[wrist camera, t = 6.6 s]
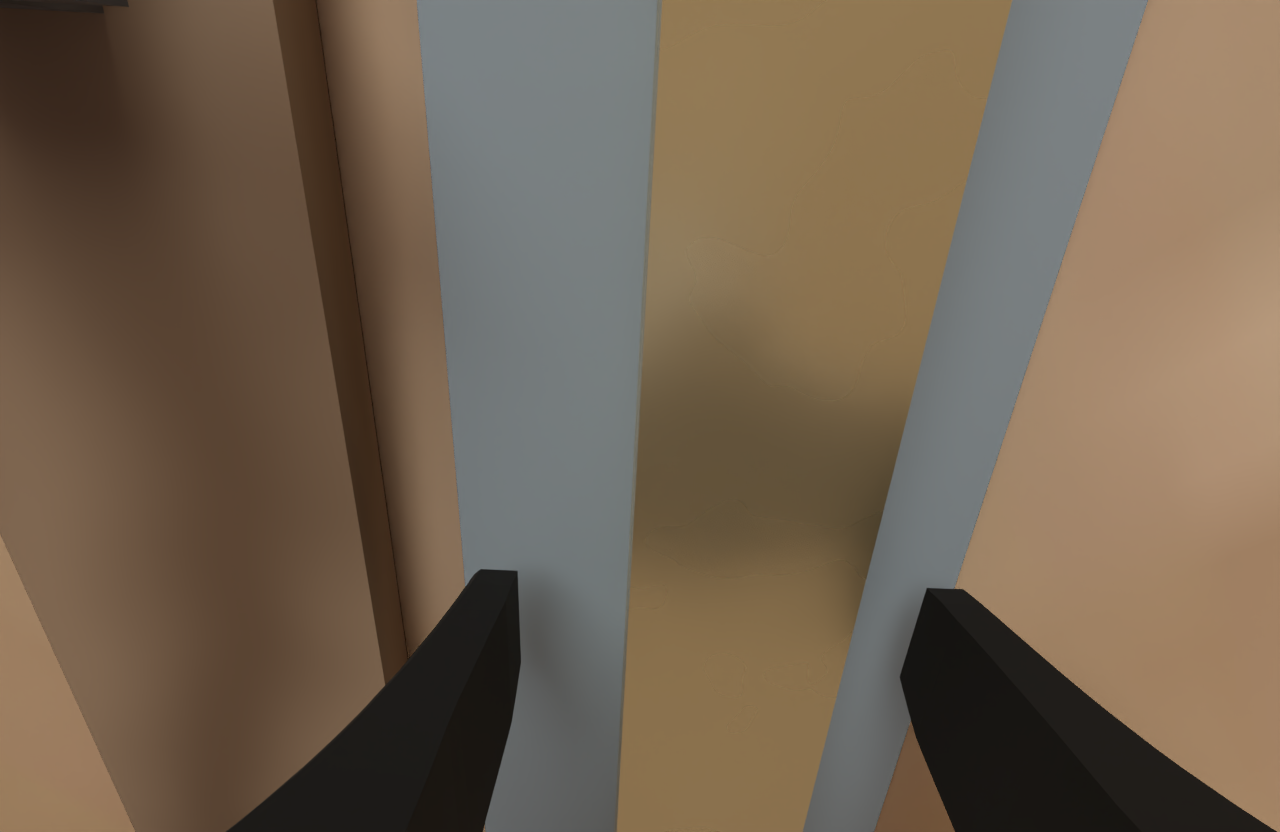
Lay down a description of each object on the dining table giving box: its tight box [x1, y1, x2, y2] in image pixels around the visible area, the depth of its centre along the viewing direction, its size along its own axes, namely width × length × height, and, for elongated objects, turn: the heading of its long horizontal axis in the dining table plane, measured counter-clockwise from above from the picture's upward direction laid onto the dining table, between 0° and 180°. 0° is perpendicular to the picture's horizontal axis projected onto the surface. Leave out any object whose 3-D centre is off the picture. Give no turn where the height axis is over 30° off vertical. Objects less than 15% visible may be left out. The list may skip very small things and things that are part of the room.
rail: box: [614, 0, 1012, 832], centre depth 11 cm, size 3×26×3 cm, turn 177°
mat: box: [417, 0, 1148, 832], centre depth 13 cm, size 9×30×1 cm, turn 177°
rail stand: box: [0, 0, 408, 832], centre depth 10 cm, size 6×24×6 cm, turn 177°
